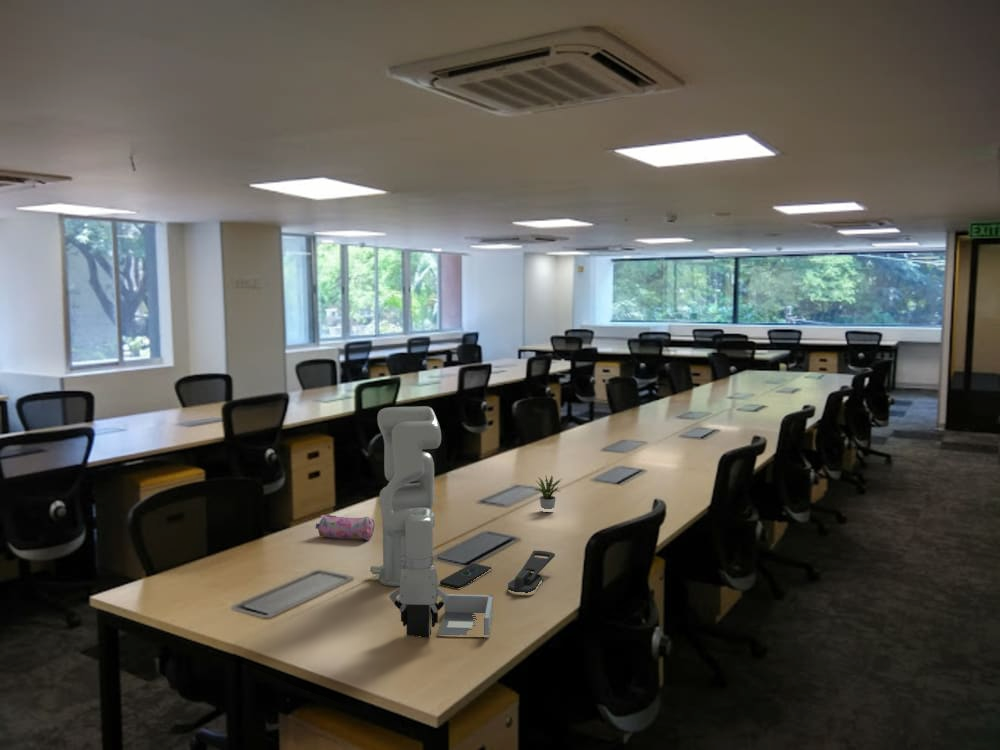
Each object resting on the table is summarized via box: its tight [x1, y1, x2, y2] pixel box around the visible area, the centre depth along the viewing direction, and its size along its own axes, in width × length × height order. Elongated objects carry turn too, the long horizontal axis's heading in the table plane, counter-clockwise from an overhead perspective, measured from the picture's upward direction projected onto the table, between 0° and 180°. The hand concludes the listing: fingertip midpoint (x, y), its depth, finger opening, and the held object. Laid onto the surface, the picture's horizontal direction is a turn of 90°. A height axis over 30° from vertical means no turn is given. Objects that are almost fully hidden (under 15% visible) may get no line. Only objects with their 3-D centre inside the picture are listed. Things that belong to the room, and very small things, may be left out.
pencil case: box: [315, 514, 375, 541], centre depth 284 cm, size 21×9×9 cm, turn 76°
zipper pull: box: [507, 550, 556, 593], centre depth 239 cm, size 9×7×25 cm
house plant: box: [534, 474, 563, 509], centre depth 321 cm, size 14×14×16 cm
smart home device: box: [439, 562, 492, 589], centre depth 243 cm, size 8×2×20 cm
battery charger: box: [406, 605, 433, 638], centre depth 200 cm, size 7×4×11 cm, turn 73°
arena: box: [436, 593, 494, 636], centre depth 206 cm, size 14×16×6 cm
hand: (419, 624), depth 200 cm, fingers closed on battery charger, 7 cm apart
